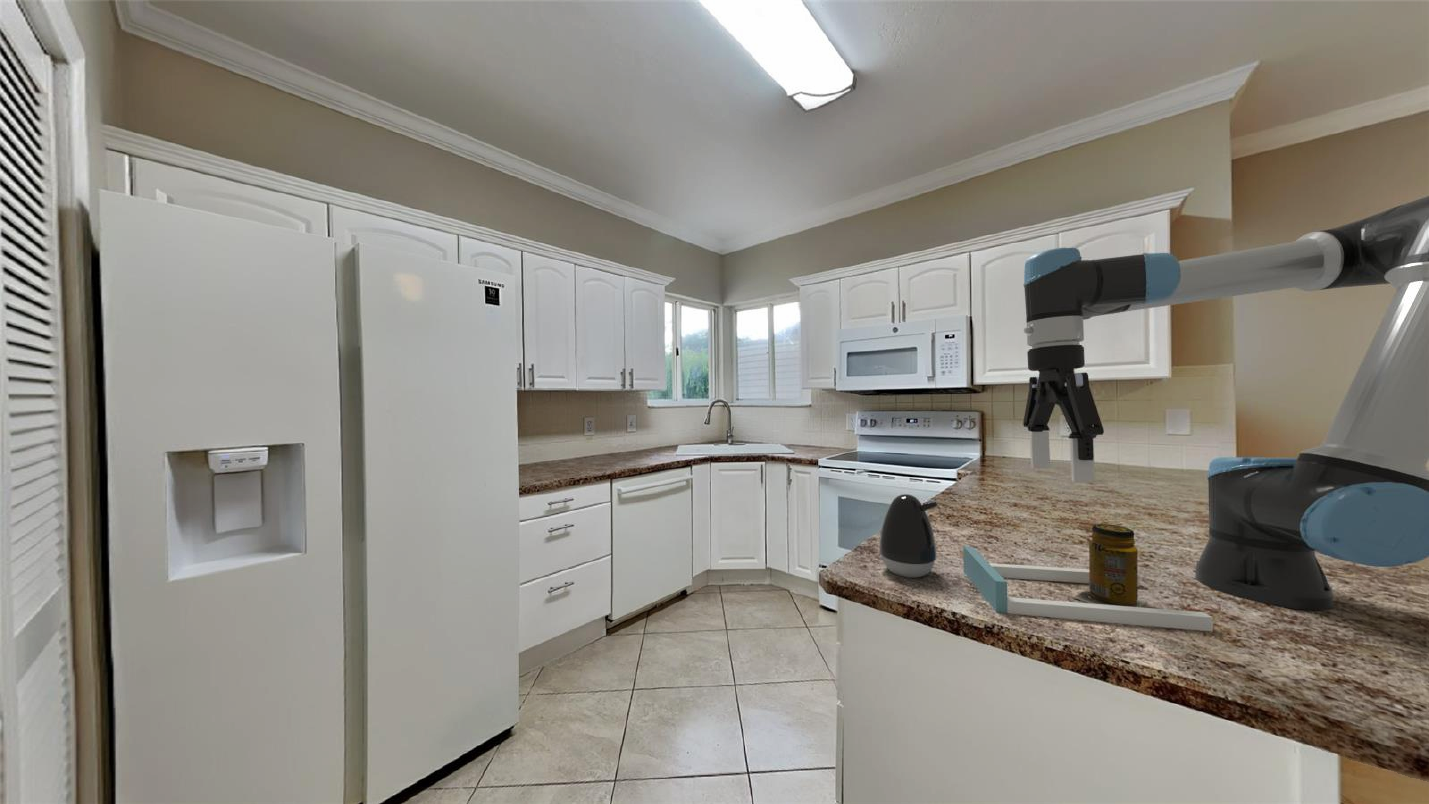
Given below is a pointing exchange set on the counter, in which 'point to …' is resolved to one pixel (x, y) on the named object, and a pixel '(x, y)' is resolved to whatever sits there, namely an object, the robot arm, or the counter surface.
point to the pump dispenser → (908, 537)
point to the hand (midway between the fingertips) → (1060, 474)
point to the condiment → (1112, 568)
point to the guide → (995, 593)
